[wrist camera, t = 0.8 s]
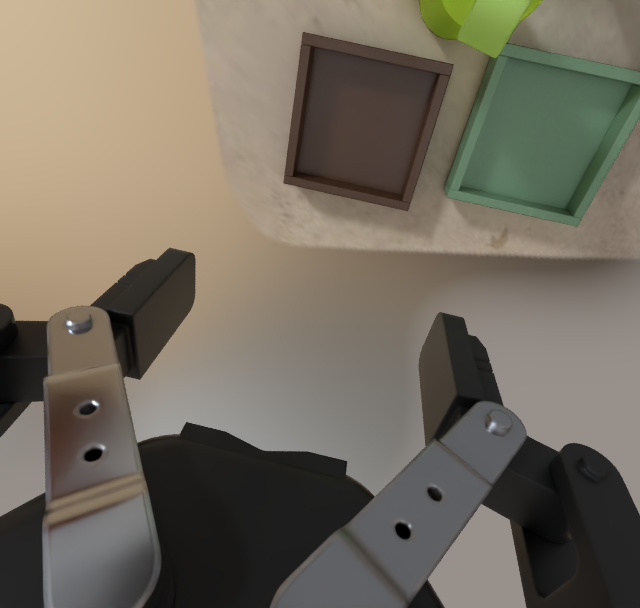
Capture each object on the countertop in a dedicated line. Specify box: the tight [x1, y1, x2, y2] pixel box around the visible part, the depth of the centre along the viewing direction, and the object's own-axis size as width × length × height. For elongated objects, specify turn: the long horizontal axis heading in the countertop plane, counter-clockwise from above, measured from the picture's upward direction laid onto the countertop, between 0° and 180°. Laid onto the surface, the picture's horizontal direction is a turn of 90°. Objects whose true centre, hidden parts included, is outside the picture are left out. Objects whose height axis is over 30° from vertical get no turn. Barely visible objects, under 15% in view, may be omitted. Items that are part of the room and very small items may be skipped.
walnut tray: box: [284, 32, 453, 211], centre depth 35 cm, size 12×12×3 cm
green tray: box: [444, 43, 640, 226], centre depth 34 cm, size 12×12×3 cm
